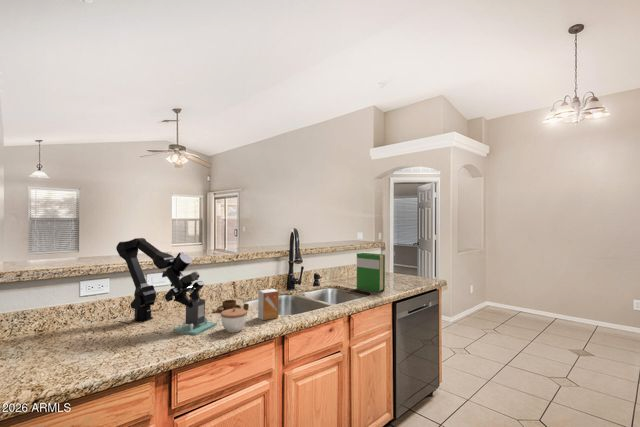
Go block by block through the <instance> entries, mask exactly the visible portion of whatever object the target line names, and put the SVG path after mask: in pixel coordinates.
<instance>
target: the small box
mask: <svg viewBox="0 0 640 427" xmlns="http://www.w3.org/2000/svg"><path fill="white" fill-rule="evenodd" d="M279 296H280V295H279V290H277V289H275V288H269V289H267V288H266V289H261V290H260V289H259V290H258V296H257V297H258V298H257V302H258V304H257V305H258V306H257V307H258V308H257V318H259V319H261V320H262V321H266V320H271V319H279Z"/></svg>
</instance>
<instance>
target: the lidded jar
mask: <svg viewBox="0 0 640 427" xmlns="http://www.w3.org/2000/svg"><path fill="white" fill-rule="evenodd" d="M246 314H247V315H248V310H247V311H246V310H244V308H241V309H238V308H236V307H235V308H233V309H228V310H225V309H224V311H222V312H220V316H221V317H220V318H221V319H220V321H221V324H222V327H223V329H225V331H226V332H228V333H237V332H240V331H241V330H242V329H243V327H245V325H246V322H247V316H246Z"/></svg>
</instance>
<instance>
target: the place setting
mask: <svg viewBox="0 0 640 427" xmlns="http://www.w3.org/2000/svg"><path fill="white" fill-rule="evenodd" d="M233 308H235V309H242V306H241V305H240V304H237V300H235V299H226V300H223V301H222V304H221V305H219V306H217V311H216V310H215V308H214V309H212V313H214V314H215V313H216V312H219V313H221V312H222V311H224V310H228V309H233ZM223 309H224V310H223ZM243 309H244V310H246V311H247V312H248V311H249V303H243ZM247 316H248V313H247V314H246V317H247Z"/></svg>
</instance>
